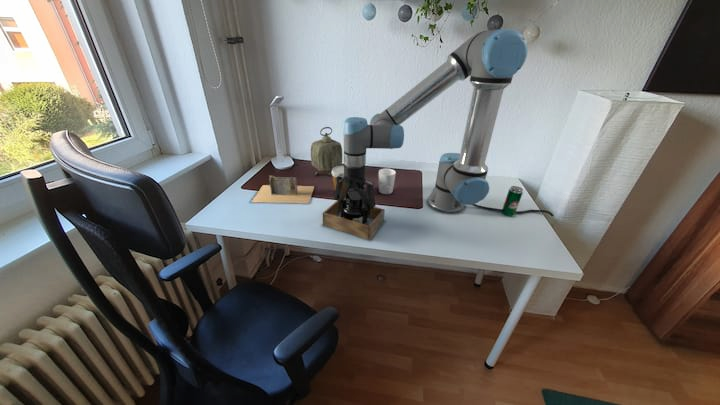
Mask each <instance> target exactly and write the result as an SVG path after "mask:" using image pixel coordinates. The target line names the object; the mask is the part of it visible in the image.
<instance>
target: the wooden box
mask: <svg viewBox="0 0 720 405" xmlns="http://www.w3.org/2000/svg"><path fill="white" fill-rule="evenodd" d="M343 200H346V198H344V199H343ZM339 213H341V209H339V202H338V200H337V199H336V201H334V203H333V204H331V205H330V206H328V208H327V209H325V210H324V211H323V212H322V225H323V226H325V227H328V228H331V229H333V230H337V231H340V232H343V233H346V234H349V235H352V236H356V237H358V238H362V239H365V240H368V241H370V240H371V239H372V238H373V236H374V235H375V234H376V233H377V231H378V230H379V228H380V227H381V225H382V224H383V223H384V221H385V209H384V208H381V207H377V206H375V207H374V208H373V209H370V215H369V216H368V219H370V220H372V221H371V223H370V224H369V225H367V224H366V223H365V224H361V223H358V222H355V221H351V220H348V219H345V218H341V216H337V215H338V214H339Z"/></svg>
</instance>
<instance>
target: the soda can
mask: <svg viewBox="0 0 720 405" xmlns="http://www.w3.org/2000/svg"><path fill="white" fill-rule="evenodd" d="M523 194H524V189H523V188H522V187H521V186H517V185H511V186H510V188H508V191H507V194H506V197H505V200H504V203H503V205H502V211H501V213H502V214H503V215H504V216H507V217H513V216H515V215H516V214H517V213H516V211H518V207H519V205H520V202H521V199H522V197H523Z"/></svg>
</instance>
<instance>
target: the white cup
mask: <svg viewBox="0 0 720 405" xmlns="http://www.w3.org/2000/svg"><path fill="white" fill-rule="evenodd" d="M396 174H397V172H396V170H395V169H392V168H388V167H387V168H386V167H385V168H381V169H379V170H378V183H377V184H378V192H379V193H380V194H381V195H382V194H383V195H391V194H392V193H393V192H394V187H395V181H396Z"/></svg>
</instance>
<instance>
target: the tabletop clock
mask: <svg viewBox="0 0 720 405" xmlns="http://www.w3.org/2000/svg"><path fill="white" fill-rule="evenodd" d="M326 129H330V130H331V131H330V132H329V133H328V132H325V133H324V134H322V131H323V130H326ZM332 133H333V129H332V127H330V126H325V127H323V128H321V129H320V132H319V134H320V135H321V136H322V138H321V139H318V140H315V141H313V142H312V143H311V145H310V161H311V162H310V163H311V165H312V167H314V168H315V169H317V171H315V173H314V174H315V176H319V172H328V176H329V177H332V176H333V175H332V174H331V171H332V169H333V168H334V167H337V166H343V165H342V164H343V147H342V144H341V142H339V141H338V140H335V139H332V137H331V136H330V135H331V134H332Z"/></svg>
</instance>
